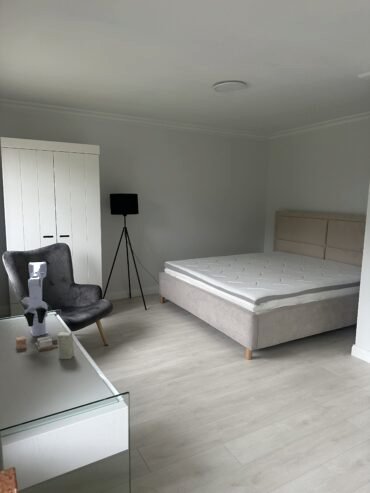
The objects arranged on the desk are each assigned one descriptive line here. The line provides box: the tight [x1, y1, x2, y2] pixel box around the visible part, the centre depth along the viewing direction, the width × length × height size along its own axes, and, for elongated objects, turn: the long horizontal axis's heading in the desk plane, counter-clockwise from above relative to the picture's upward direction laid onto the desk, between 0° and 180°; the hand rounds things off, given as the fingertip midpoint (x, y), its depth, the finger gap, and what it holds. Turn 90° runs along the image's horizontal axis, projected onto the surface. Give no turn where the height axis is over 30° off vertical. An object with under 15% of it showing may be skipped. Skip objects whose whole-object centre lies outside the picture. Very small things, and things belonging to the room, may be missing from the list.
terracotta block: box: [15, 335, 27, 351], centre depth 179 cm, size 4×4×5 cm
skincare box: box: [56, 331, 75, 360], centre depth 167 cm, size 6×4×12 cm
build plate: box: [34, 335, 58, 352], centre depth 181 cm, size 10×11×4 cm
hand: (35, 324), depth 178 cm, fingers open, 7 cm apart
